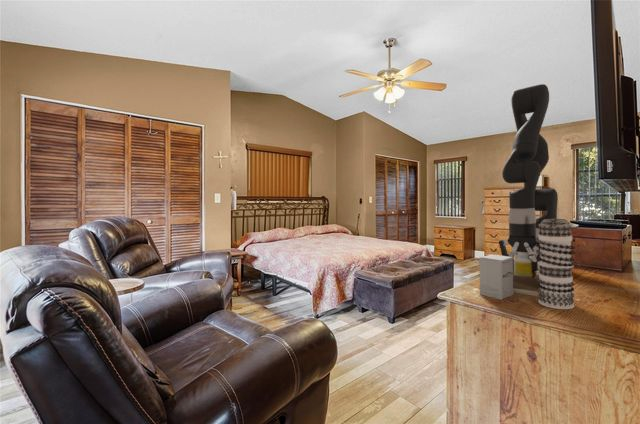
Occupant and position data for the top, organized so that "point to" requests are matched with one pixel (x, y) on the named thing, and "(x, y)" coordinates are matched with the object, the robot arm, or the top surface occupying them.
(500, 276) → the supplement box
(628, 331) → the top surface
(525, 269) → the supplement bottle
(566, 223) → the decorative candle
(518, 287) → the socket block
